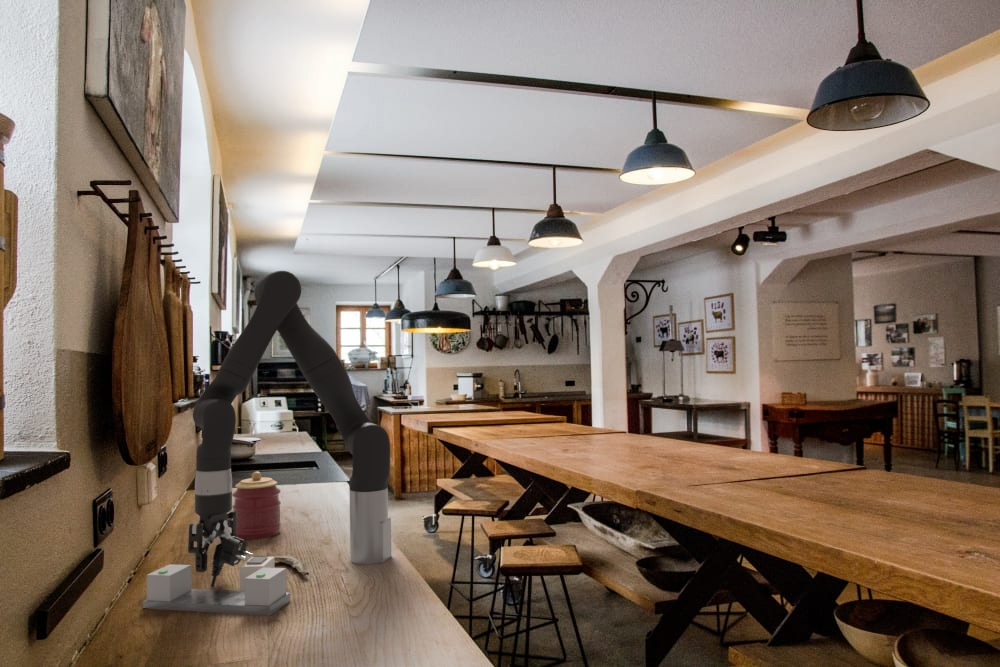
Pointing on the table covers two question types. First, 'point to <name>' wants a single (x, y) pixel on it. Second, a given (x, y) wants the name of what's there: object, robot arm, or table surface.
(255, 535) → the canister
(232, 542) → the power plug
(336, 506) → the table surface
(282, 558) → the jawbone
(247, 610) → the rail base
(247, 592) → the mounted modules
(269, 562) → the block
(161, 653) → the table surface
